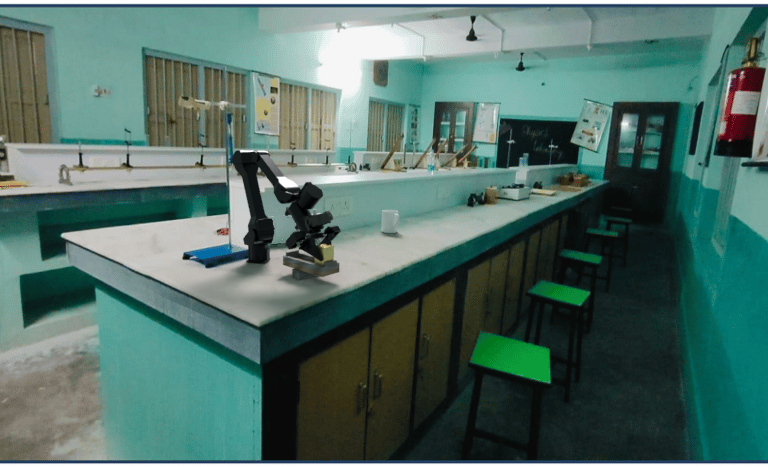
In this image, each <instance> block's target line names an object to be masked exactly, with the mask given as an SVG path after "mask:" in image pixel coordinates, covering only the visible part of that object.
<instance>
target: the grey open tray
mask: <svg viewBox="0 0 768 467" xmlns="http://www.w3.org/2000/svg"><path fill="white" fill-rule="evenodd" d="M282 265H283V266H285V267H288V268H291V270H292V271H291V275H292V276H291V278H292V279H293V280H295V281H296V280H297V281H301V280H305V279H308V278H312V277H315V276H316V277H317V276H318V277H320V278H324V277H327V276H330V275H334V274H338V273H340V262H338V260H334V261H330V262H326V263H324V266H321V265H317V264H315V257H313V256H311V255H310V254H308V253H306V252H301V251H300V250H299V249H295V250H291V251H285V255H283V256H282Z"/></svg>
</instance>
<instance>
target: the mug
mask: <svg viewBox="0 0 768 467" xmlns="http://www.w3.org/2000/svg"><path fill="white" fill-rule="evenodd" d="M400 218H401V217H400V215H399V210H397V209H382V210H381V224H380V226H381V232H382V233H385V234H396V233H397V232H398V225H399V223H400Z"/></svg>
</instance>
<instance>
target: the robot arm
mask: <svg viewBox="0 0 768 467" xmlns="http://www.w3.org/2000/svg"><path fill="white" fill-rule="evenodd" d="M231 158H232V159H231V160H232V163H233V166H234V169H235V171H236V172H237V173H238V174H239V175H240V176H241V179H242V183H243V188H244V191H245V192H244V193H245V196H246V197H245V198H246V201H247V206H248V211H249V215H250V218H249V221H248V224H247V230H248V231H247V232H246V234H245V235H244V237H243V238H242V240H243V244H244V245H245V246H247V254H248V255H247V256H248V258H247V260H246V261H245V262H246V263H255V264H265V263H267V262H268V261H270V260H271V256H270V255H271V254H270V252H271V251H270V250H271V249H270V247H269V243H272V241H273V237H274V238H275V230H276V227H275V225H273V220H272V218H268V217H269V216H268V215H267V214H266V212H265V207H264V203H263V199H262V198H263V197H262V194H261V190H260V189H261V188H260V185H259V180H258V175H257V174H258V171H259V169H260V170H261V172H262V174H264V176H265V177H266V178H267V180H268V181H269V183H270V185H271V186H272V187H273V195H274V196H275V198H276V200H277V202H278V203H279V204H281V205H288V204H289V206H286V208H285V212H284V216H288V215H291V216H292V218H291V219H292V220H293V221H294V224H295V223H296V226H295V225H294V230H295V229H296V230H298V229H299V231H297V232H295V231H293V232H292V233H291V234H290V237H289V238H288V239H287V240H286V243H285V246H286V248H287V249H288V250H294V249H295V250H296V249H297V247H298V244H299V245H300V246H299V247H298V249H297V250H299V251H303V252H304V253H305V254H309V255H311V256H313V257H315V258H316V259H318V260H319V261H322V260H323V258H322V255H321V253H320V252H319V250H318V248H317V246H316V245H317V244H316V240H315V239H318V241H319V244H324V243H325V244H329V245H333V244H332V241H334V239H335V238H336V237H338V235H339V234H340V233H341V232H342V230H341V229H340V227H339V226H338V225H336V224H334V225H328V226H327V227H326V228H325V225H327V224H331V223H332V221H333V220H334V216H333V214H332V212H331V211H330V210H325V211H323V212H322V213H321V214H317V215H312V214H313V213H311V212H310V210H313V209H315V207H316V205H317V204H318V203H319V202H320V201H321V199H322V198H323V196H324V192H323V191H322V188H319V187H318V186H317V185H316V184H313V183H312V181H305V183H304V184H303V186H302V188H300V186H299V185H298V184H297V183H295V181H293V180H292V179H288V178H287V177H286V176H285V175H284V174H283V172H282V171H281V169H280V168H279V167H278V165H277V164H276V162H274V160H273V159H272V158H271V156H270V152H268V151H266V150H252V149H250V150H248V149H238V150H235V151H234V153H233V154H232V156H231ZM324 228H325V229H324ZM323 229H324V230H323ZM322 230H323V231H322ZM297 243H298V244H297ZM319 244H318V245H319Z"/></svg>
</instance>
